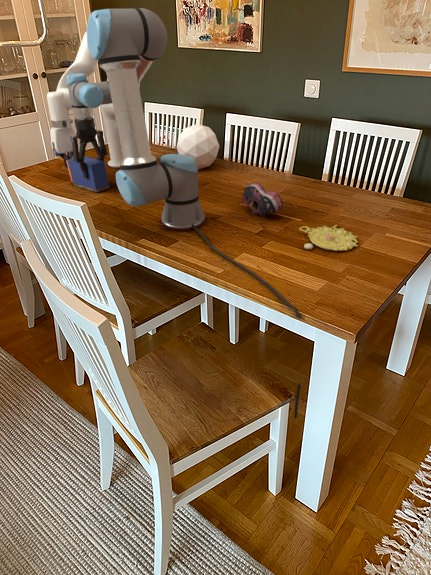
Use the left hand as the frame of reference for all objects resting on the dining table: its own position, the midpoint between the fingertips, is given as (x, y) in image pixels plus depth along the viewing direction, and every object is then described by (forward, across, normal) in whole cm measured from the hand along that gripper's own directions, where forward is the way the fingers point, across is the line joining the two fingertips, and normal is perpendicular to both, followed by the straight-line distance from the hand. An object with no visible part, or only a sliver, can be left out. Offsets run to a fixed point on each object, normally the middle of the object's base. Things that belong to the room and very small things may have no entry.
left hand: (69, 167), depth 194 cm
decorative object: (+6, -26, +116) cm, 119 cm away
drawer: (+5, -1, +8) cm, 10 cm away
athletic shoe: (+5, -29, +84) cm, 89 cm away
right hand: (0, -2, +18) cm, 18 cm away
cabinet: (+6, -2, +14) cm, 16 cm away
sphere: (+4, -50, +30) cm, 59 cm away
